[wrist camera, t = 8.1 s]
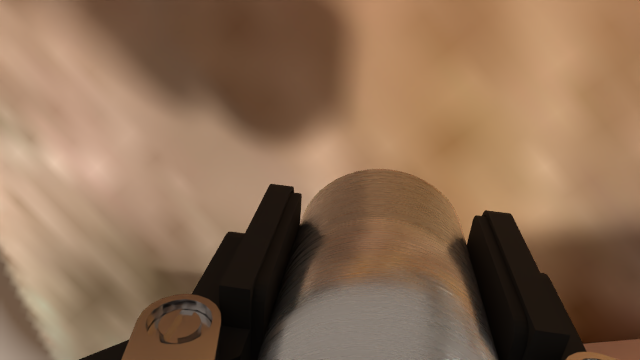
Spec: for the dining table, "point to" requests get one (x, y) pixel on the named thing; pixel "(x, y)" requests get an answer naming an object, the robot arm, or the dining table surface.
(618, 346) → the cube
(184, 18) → the dining table surface
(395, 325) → the cylinder
